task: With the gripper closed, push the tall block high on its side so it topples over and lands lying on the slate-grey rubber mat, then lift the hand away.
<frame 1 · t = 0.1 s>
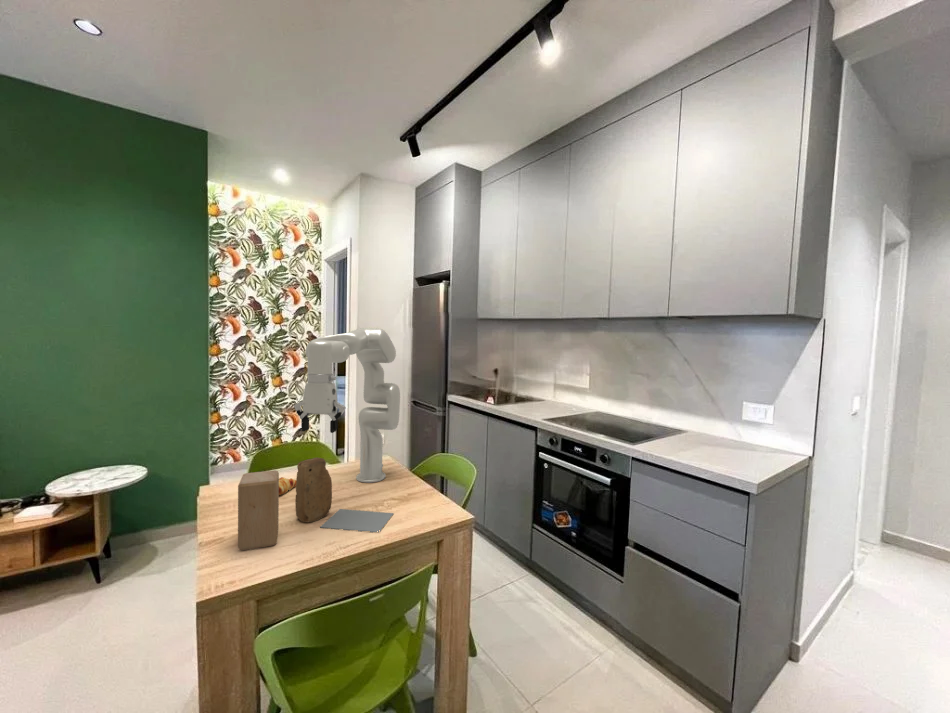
hand: (319, 431, 129), 31 cm above the table, tool pointing down, fingers open, 9 cm apart
wooden block: (259, 541, 119), on the table
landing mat: (358, 520, 134), on the table
block: (314, 517, 136), on the table
croissant: (274, 494, 155), on the table
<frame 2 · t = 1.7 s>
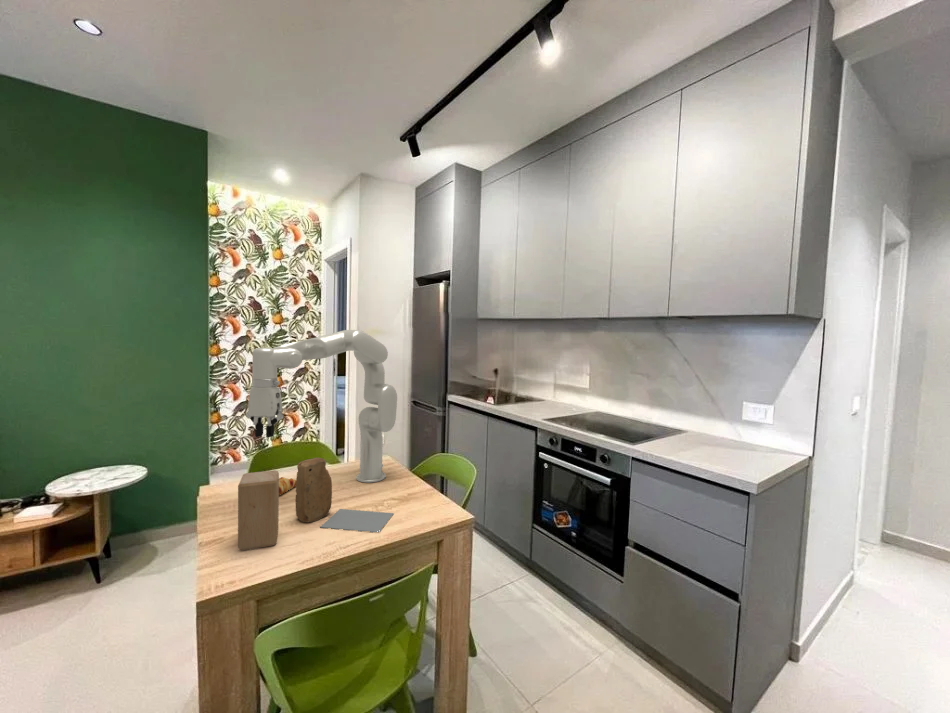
hand: (264, 435, 137), 27 cm above the table, tool pointing down, fingers open, 3 cm apart
nothing on the table moved.
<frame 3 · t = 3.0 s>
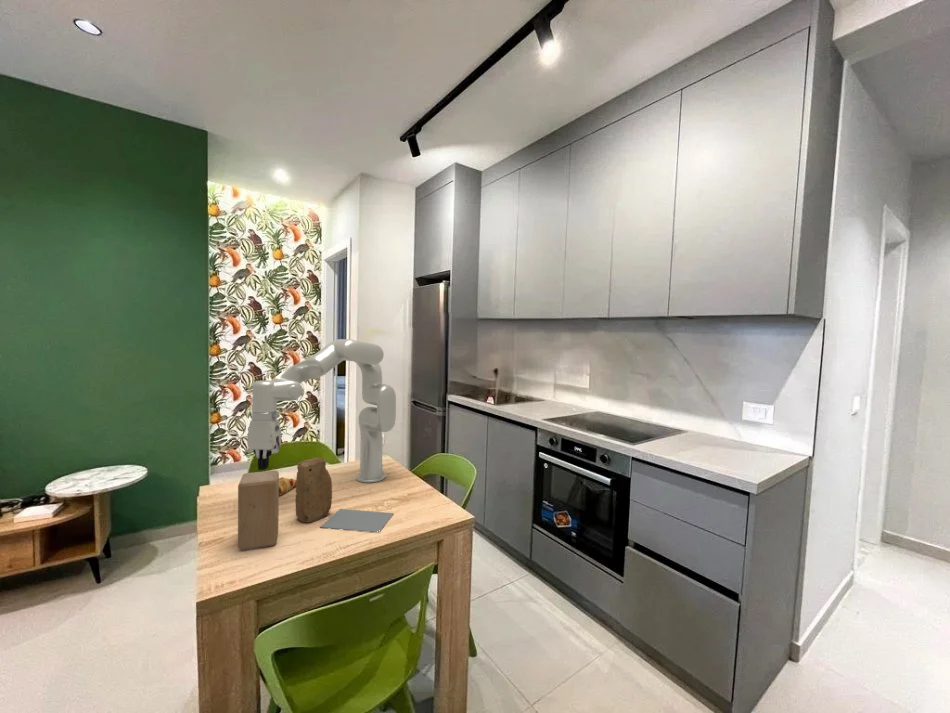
hand: (263, 468, 137), 16 cm above the table, tool pointing down, fingers closed
nothing on the table moved.
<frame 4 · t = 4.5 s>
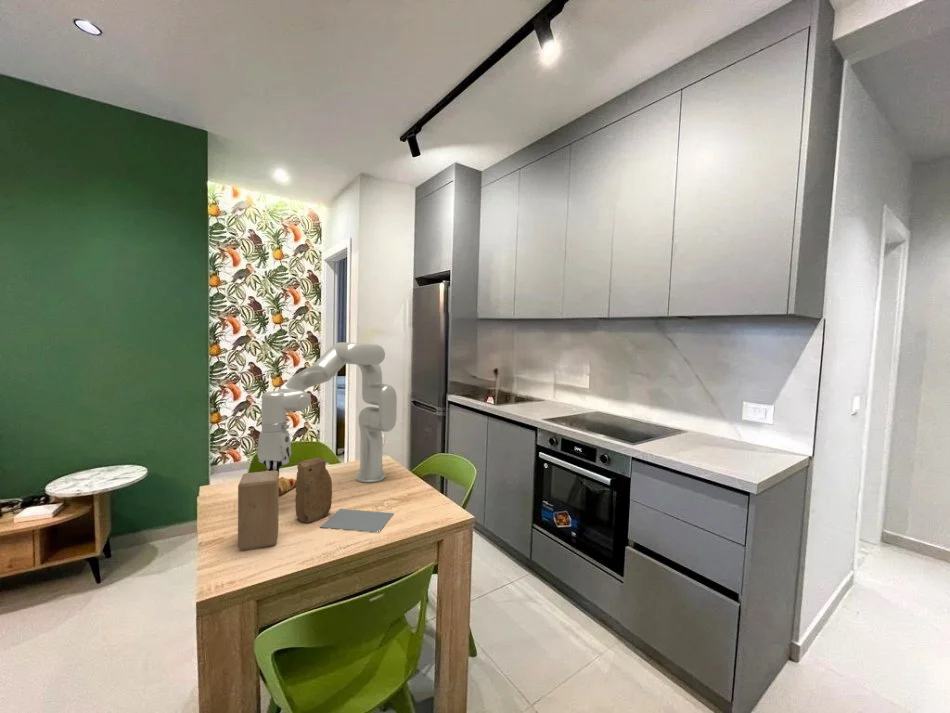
hand: (273, 479, 137), 12 cm above the table, tool pointing down, fingers closed
nothing on the table moved.
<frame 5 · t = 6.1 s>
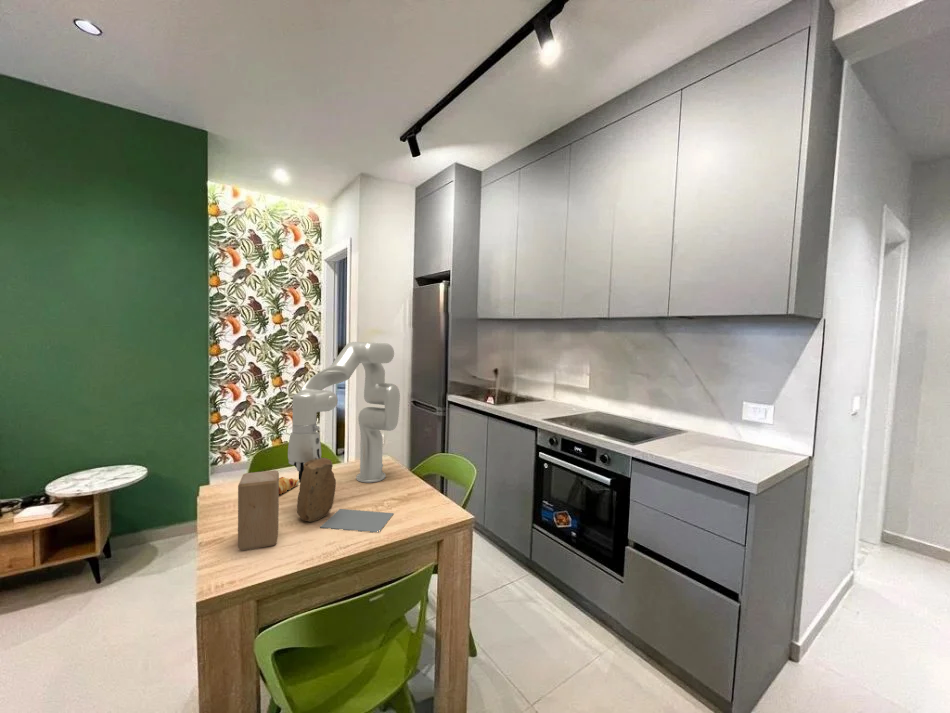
hand: (303, 481, 136), 12 cm above the table, tool pointing down, fingers closed
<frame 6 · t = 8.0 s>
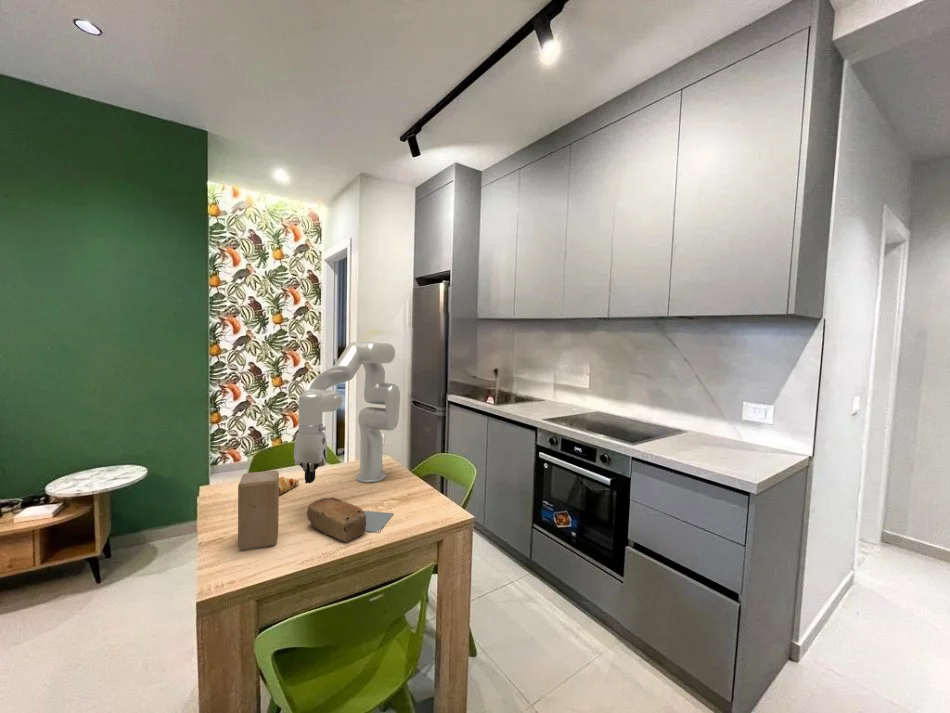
hand: (310, 481, 135), 12 cm above the table, tool pointing down, fingers closed
block: (318, 507, 133), point 4 cm above the table, touching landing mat
everything else where it was.
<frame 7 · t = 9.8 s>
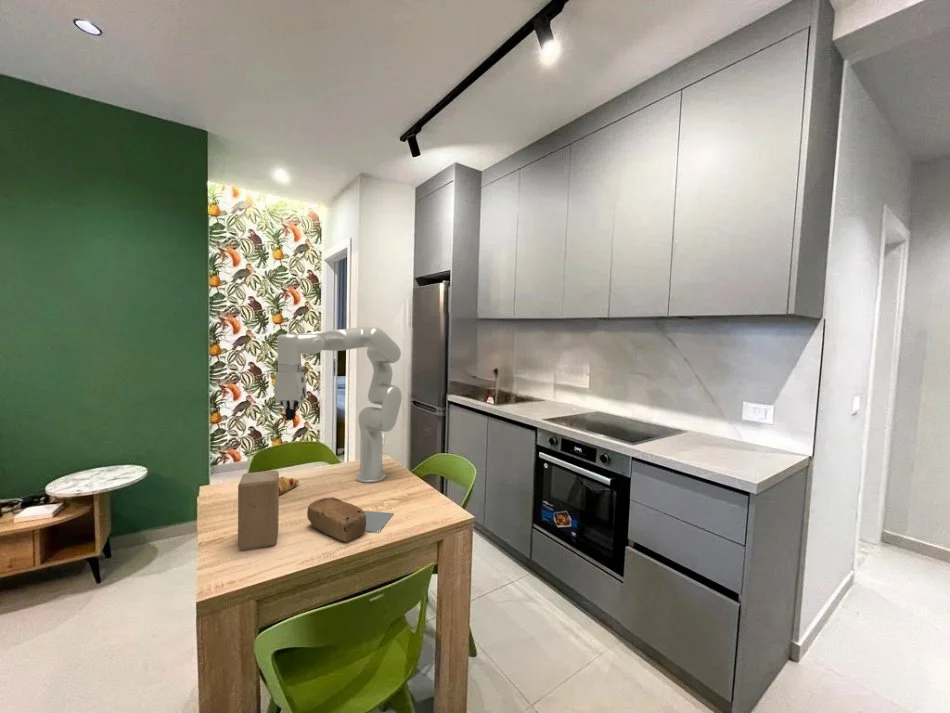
hand: (290, 419, 142), 32 cm above the table, tool pointing down, fingers closed
nothing on the table moved.
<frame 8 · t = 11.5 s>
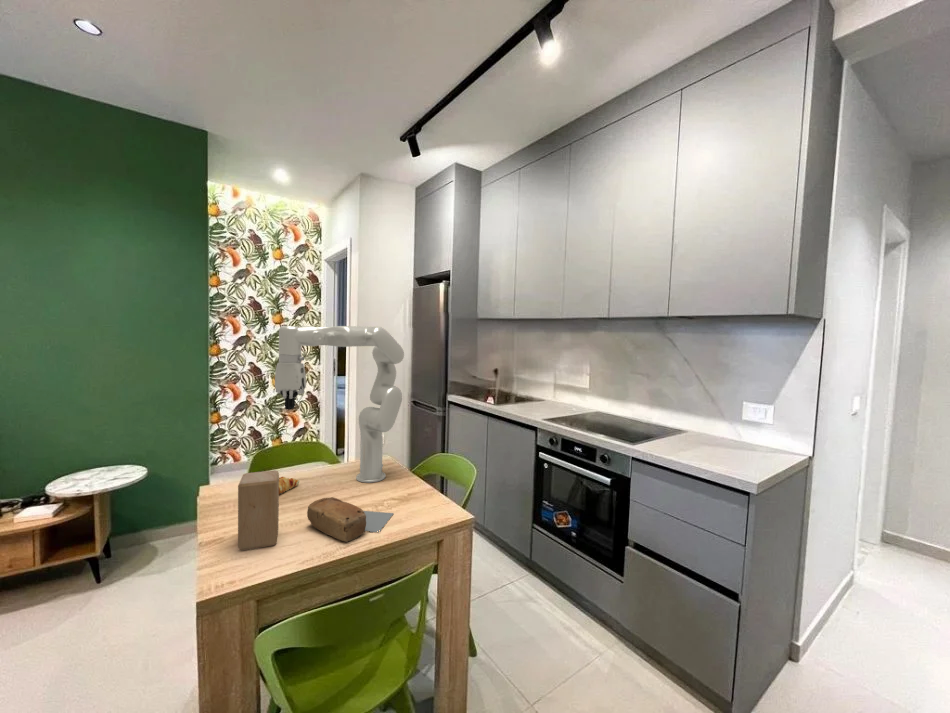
hand: (289, 408, 146), 35 cm above the table, tool pointing down, fingers closed
at the end: block tilted 93°; block touching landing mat, table; block inside the target area (4.2 cm from its centre), point 4.4 cm above the table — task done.
